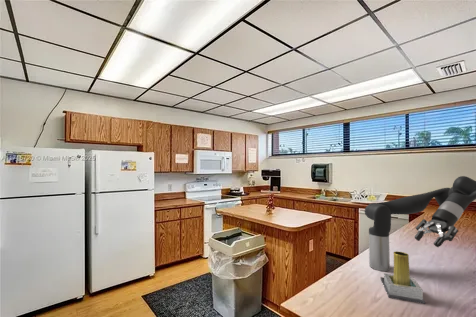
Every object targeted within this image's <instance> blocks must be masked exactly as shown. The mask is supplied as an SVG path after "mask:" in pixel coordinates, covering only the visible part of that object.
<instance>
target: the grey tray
mask: <svg viewBox="0 0 476 317" xmlns="http://www.w3.org/2000/svg"><path fill="white" fill-rule="evenodd" d="M393 276H394V274H392V273H391V274H390V273H383V276H380V282H381V283H383V284H382V286H383V285H384V286H383V288H384V291H385V292H387V293H386V295H387V297H388V299H394V300H400V301H401V300H402V301H406V302H412V303H416V304H417V303H418V304H422V305H423V304H424V305H425V304H426V301H425V299H424V296H423V294H424V293H423V288H422V287H421V285H420V284H419V283H418V282H417V280H416V279H415V278H414V277H412V276H410V286H406V285H399V284H393Z"/></svg>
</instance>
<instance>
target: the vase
mask: <svg viewBox="0 0 476 317" xmlns="http://www.w3.org/2000/svg"><path fill="white" fill-rule="evenodd" d="M409 258H410V257H409V254H408V253H407V252H403V251H398V250H397V251H394V252H393V275H394V276H393V284H399V285H406V286H410V277H411V274H410V261H409V260H410V259H409Z"/></svg>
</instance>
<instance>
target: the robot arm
mask: <svg viewBox="0 0 476 317" xmlns="http://www.w3.org/2000/svg"><path fill="white" fill-rule="evenodd" d="M432 199H435V202H437V204H438V206H439V207H438V208H437V209H436V210H435V212H434V213H433V214H432V216H431V220H429V221H428V220H426V219H425V218H423V219H422V220H421V221H420V222H419V224H417V225H416V226H415V230H416V231H417V232H416V234H415V235H414V239H415V240H416V241H418V242H420V241H421V239H422V238H423V237H424V235H425V234H426V235H427V234H430V233H433V234H437V235H439V236H438V237H437V238H436V239H435V240H434V242H433V246H435V247H436V248H439V247H441V246H442V245H443V244H444V243H445V242H446V241H449V242H452V241H453V240H454V238H455V237H456V235H457V234H458V232H459V230H458V228H457V227H456V226H455V224H456V223H457V222H458V221H459V219H460V218H461V217H462V215H463V213H464V212H465V210H466V209H467V207H468V206H469V205H470V204H472V202H474V201H475V200H476V180H474V179H472V178H470V177H469V176H465V175H460V176H458V177H457V178H455V179H454V181H453V182H452V187H442V188H439V189H436V190H432V191H431V190H430V191H428V192H424V193H420V194H413V195H408V196H404V197H399V198H397V199H393V200H388V201H383V202H382V201H381V202H373V203H369V204H368V205H366V207H365V208H364V214H365V217H367V218H368V219H369V220H372V221H373V226H370V227H369V228H368V252H369V253H368V259H369V261H368V262H369V267H370V268H371V269H374V270H376V271H380V272H388V271H390V270H391V267H390V266H391V263H390V262H391V261H390V260H391V259H390V232H391V229H392V215H412V214H418V213H421V212H423V211H424V210H426V208H427V207H428V205H429V204H430V202H431V201H432Z"/></svg>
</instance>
